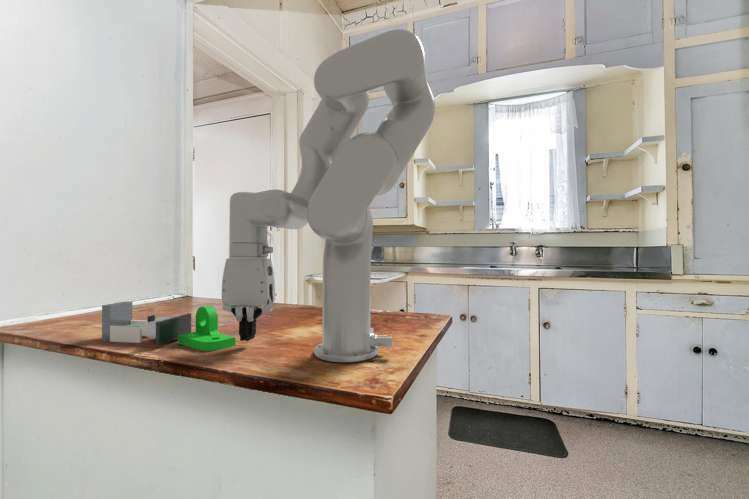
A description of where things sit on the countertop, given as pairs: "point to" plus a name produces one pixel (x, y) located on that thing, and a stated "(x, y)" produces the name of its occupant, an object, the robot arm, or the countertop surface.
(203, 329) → the mechanical part
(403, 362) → the countertop surface
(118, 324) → the gauge housing
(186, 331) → the dark green piece
